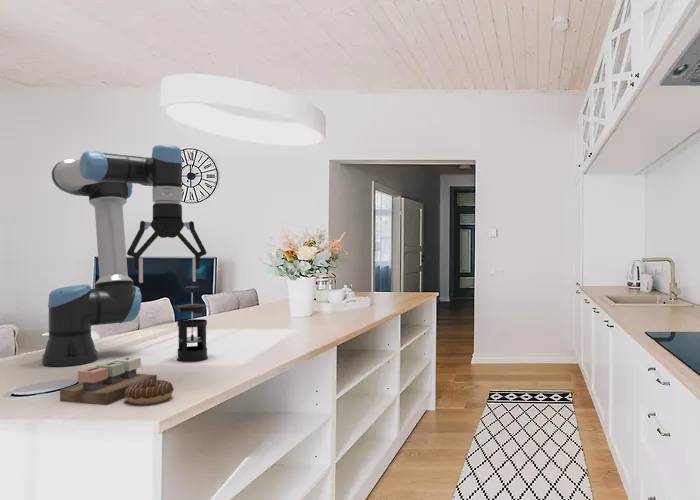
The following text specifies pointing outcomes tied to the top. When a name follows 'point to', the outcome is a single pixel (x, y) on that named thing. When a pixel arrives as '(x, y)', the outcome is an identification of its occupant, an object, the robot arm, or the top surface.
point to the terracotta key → (92, 375)
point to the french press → (197, 351)
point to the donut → (148, 392)
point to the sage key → (113, 368)
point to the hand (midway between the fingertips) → (167, 282)
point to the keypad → (103, 388)
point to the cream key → (130, 363)
